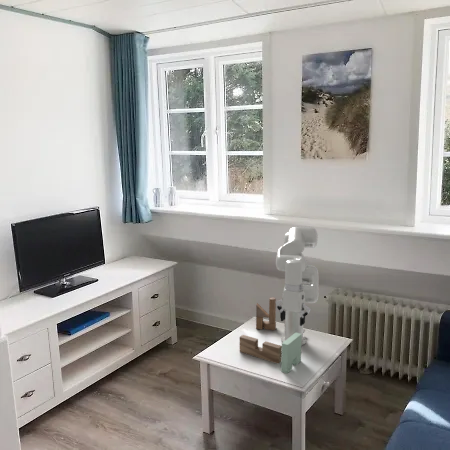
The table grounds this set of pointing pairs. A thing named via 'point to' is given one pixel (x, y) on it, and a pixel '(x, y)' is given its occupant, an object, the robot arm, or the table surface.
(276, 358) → the walnut slotted plate
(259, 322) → the wooden block
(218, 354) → the table surface
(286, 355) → the green slotted board
